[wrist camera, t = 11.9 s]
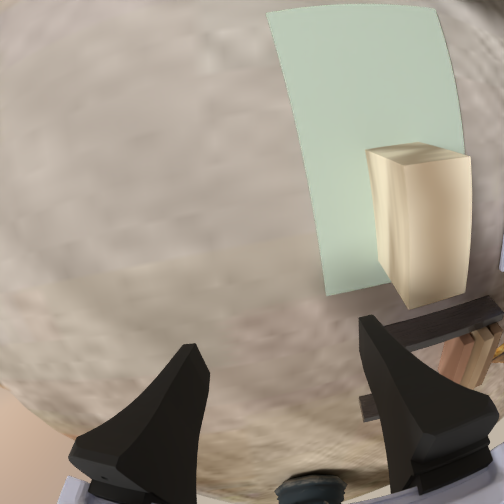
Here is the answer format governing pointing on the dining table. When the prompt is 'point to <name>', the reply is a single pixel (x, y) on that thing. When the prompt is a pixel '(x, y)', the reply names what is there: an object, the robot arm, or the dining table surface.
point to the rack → (437, 333)
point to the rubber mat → (361, 114)
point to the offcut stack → (470, 356)
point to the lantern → (312, 490)
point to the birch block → (422, 219)
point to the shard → (499, 355)
